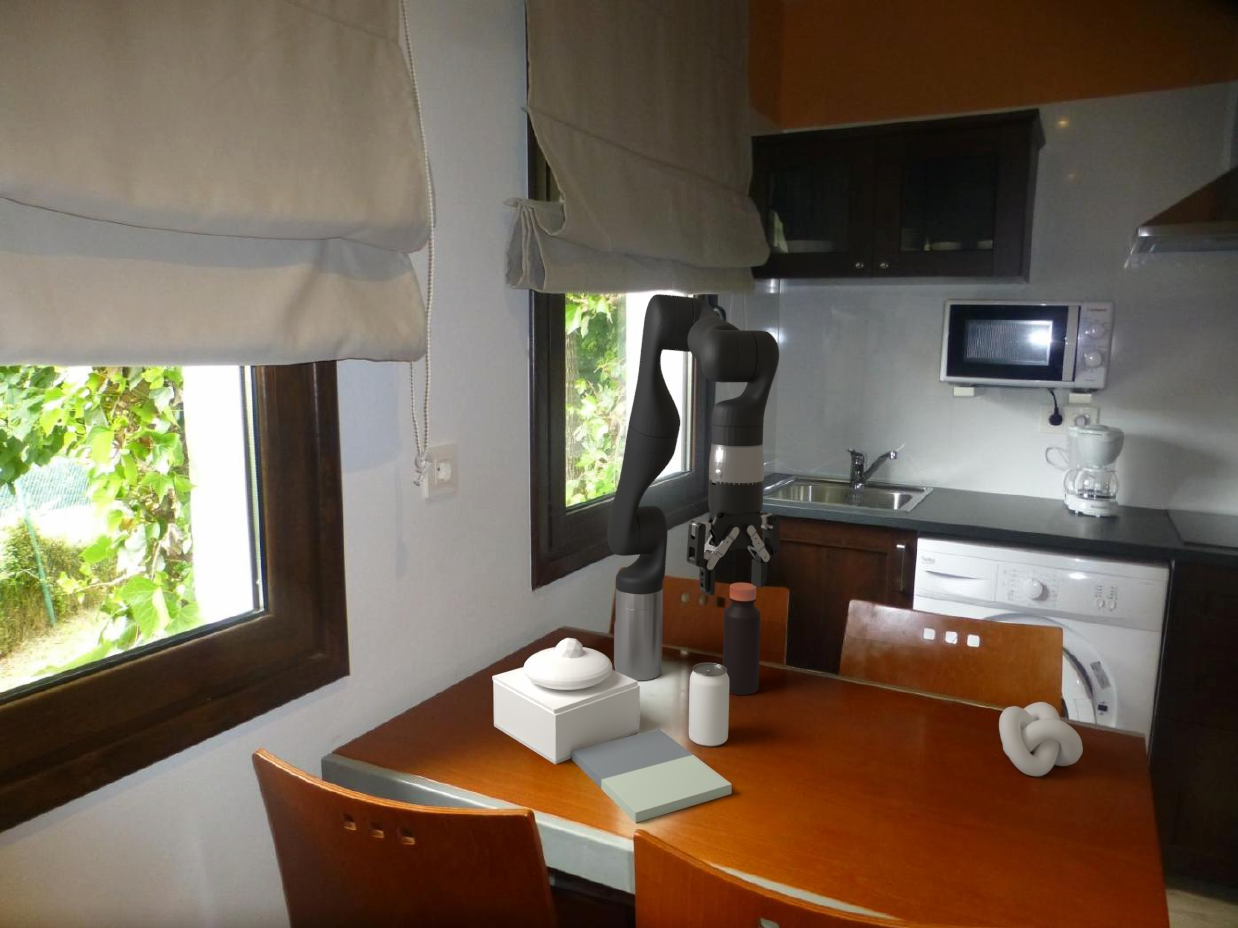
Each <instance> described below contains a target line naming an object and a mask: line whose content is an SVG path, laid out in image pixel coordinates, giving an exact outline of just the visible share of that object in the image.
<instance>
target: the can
mask: <svg viewBox="0 0 1238 928" xmlns="http://www.w3.org/2000/svg"><path fill="white" fill-rule="evenodd" d="M688 689H689V690H688V691H689V692H688V693H689V696H688V697H689V700H688V701H689V702H688V737H689V739H690V740H691V742H693V743H694V744H696V745H699V746H701V747H709V748H711V747H718V746H721V745H724V744H725V742H727V740H728V738H729V717H730V716H729V715H730V712H729V710H730V709H729V707H730V693H729V677H728V674H727V668H726V667H724V666H723V664H720V663H715V662H701V663H697V664H695V665H693V667H692V672H691V673H690V675H689V688H688Z"/></svg>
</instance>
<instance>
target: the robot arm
mask: <svg viewBox="0 0 1238 928" xmlns="http://www.w3.org/2000/svg"><path fill="white" fill-rule="evenodd" d="M643 320H644V321H643V329H642V335H641V336H642V338H641V346H640V355H639V365H638V373H637V380H636V386H635V389H634V390H635V391H634V396H633V402H632V406H631V411H630V415H629V420H628V424H627V425H628V426H627V431H626V437H625V445H624V452H623V458H622V464H621V470H620V474H619V480H618V483H617V486H616V491H615V494H614V498H613V502H612V505H611V508H610V512H609V516H608V521H607V529H606V533H607V535H606V537H607V543H608V547H609V549H610V551H611V552H612V553H613V554H615V555H616V556H621V557H627V556H638V555H639V556H638V557H637V559H636V560H635V561H633V562H632V563H631V564H630V565H628V566H626V567H624V568H622V569H621V570H619V571H618V572H617V573H616V576H615V621H614V623H613V625H614V628H613V629H614V631H613V632H614V633H613V635H614V636H613V641H614V642H613V668H614V671H616V672H618V673H621V674H623V675H625V676H627V677H630V678H632V679H634V680H636V681H648V680H649V681H650V680H652V679H656V678H659V676H661V675H662V671H663V670H662V668H663V666H662V663H663V660H662V659H663V658H662V657H663V612H664V610H663V608H664V606H663V603H664V601H663V598H664V597H663V596H664V595H663V591H664V590H663V589H664V586H663V585H664V579H665V577H666V576H665V574H666V564H667V563H666V562H667V550H668V549H667V548H668V521H667V518H666V514H665V513H664V511H663V510H662V509H661V507H659V506H656V505H645V506H644V505H642V506H641V505H640V503H641V501H642V498H643V496H644V494H645V493H646V491H647V490H648V489H649V487H651V485H652V483H654V482H655V480H657V478H658V477H659V476H660V475H661V474H662V473H663V472H664V470H665V469H666V468H667V466H668V465H669V464H670V463H671V460H672V459H673V457H674V454H675V453H676V448H677V443H678V438H679V433H680V428H681V417H680V414H679V413H680V412H679V410H678V407H677V405H676V403H675V401H674V399H673V396H672V394H671V392H670V390H669V388H668V386H667V383H666V380H665V378H664V374H663V371H662V363H661V361H662V352H663V351H664V350H665V351H673V352H674V351H676V352H684V353H685V352H686V353H691V355H692V356H693V358H695V359H696V360H697V361H699V362H700V366H701V371H702V373H703V376H704V377H705V378H706V379H707V380H708V381H712V382H715V383H746V386H745V388H744V390H743V392H742V393H741V394H740V395H739V396H736V397H733V398H728V399H724V400H722V401H721V400H720V401H718V402H717V403H715V404H714V405H713V408H712V413H711V444H710V446H711V447H710V452H709V453H710V454H709V462H708V497H707V500H708V501H707V502H708V503H707V504H708V509H709V518H708V520H707V521H697V520H693V519H692V520H690V521H689V522H688V533H687V548H686V562H687V563H689V564H691V565H694V566H696V567H697V568H699V577H698V578H699V579H698V581H699V582H698V583H699V584H698V585H699V590H700V591H701V592H702V593H703V594H704V595H706V596H708V597H709V596H710V597H711V596H714V595H715V592H716V569H714V568H715V566H716V564H717V563H718V561H719V560H720V559H721V558H722V557H724V556H725V554H726V553H727V552H728V551H735V550H737V549H742V550H744V549H748V551H749V552H750V554H751V556H752V557H753V559H751V578H750V579H751V580H750V581H751V583H750V584H752V585H754V586H756V588H759V589H760V588H764V587H765V583H767V580H768V562H769V560H770V559H771V558H772V557H774V556H775V557H777V556H779V555H780V553H781V532H780V531H781V528H780V527H781V526H780V525H781V524H780V522H781V521H780V516H779V515H778V514H775V513H770V512H767V511H765V512H764V513H762V515H761V511H762V510H763V507H764V484H765V483H764V479H765V457H764V456H765V455H764V443H763V442H764V425H765V424H764V423H765V422H764V421H765V420H764V418H765V411H766V407H767V403H768V400H769V395H770V392H771V388H772V385H773V382H774V381H775V380H774V379H775V377H776V373H777V371H778V370H777V369H778V366H779V360H780V348H779V346H778V343H777V340H776V338H775V337H774V335H773V334H772V333H770V332H769V331H765V330H758V329H757V330H756V329H755V330H744V329H742V330H740V329H739V328H738V327H737V326H736V325H734V324H733V323H731V322H728V321H726V320H723V319H721V318H720V317H719V315H718V314H717V313H716V312H715V311H714V309H713V307H712V306H711V305H710V304H708V302H706V301H705V300H703V299H700V298H698V297H692V296H684V295H683V296H682V295H674V294H673V295H671V294H660V293H659V294H654V295H653V296H651V298H650V299H649V301H648V303H647V306H646V310H645V315H644V319H643ZM760 529H762V539H761V537H760V536H759V534H758V532H759V531H760ZM708 532H709V533H710V536H709V533H708ZM708 536H709V537H708ZM706 537H707V538H708V539H707V540H706ZM716 545H717V546H716Z"/></svg>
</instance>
